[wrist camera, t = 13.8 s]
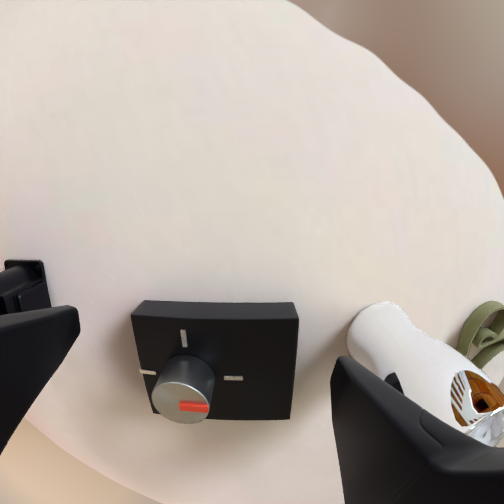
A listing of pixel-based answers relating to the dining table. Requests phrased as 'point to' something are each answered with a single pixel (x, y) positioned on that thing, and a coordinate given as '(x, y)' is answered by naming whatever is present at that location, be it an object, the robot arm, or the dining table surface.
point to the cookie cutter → (483, 333)
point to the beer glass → (427, 371)
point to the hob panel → (225, 352)
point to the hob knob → (184, 389)
